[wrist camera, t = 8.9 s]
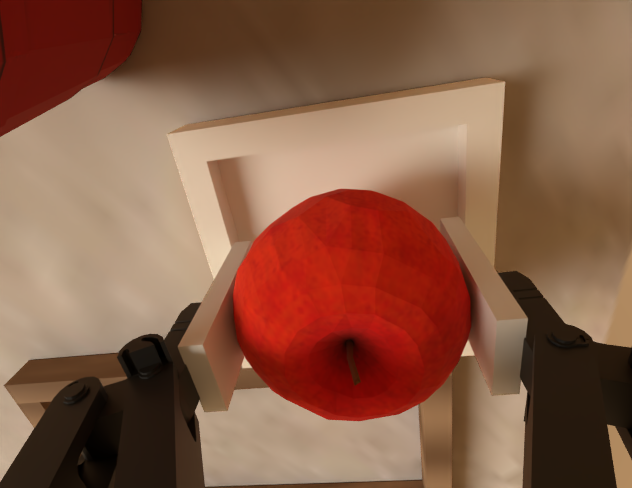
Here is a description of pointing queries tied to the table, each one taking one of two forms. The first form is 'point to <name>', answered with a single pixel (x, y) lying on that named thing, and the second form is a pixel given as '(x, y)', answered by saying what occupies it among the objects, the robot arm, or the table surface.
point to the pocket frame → (54, 374)
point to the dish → (348, 161)
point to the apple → (352, 306)
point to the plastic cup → (59, 51)
